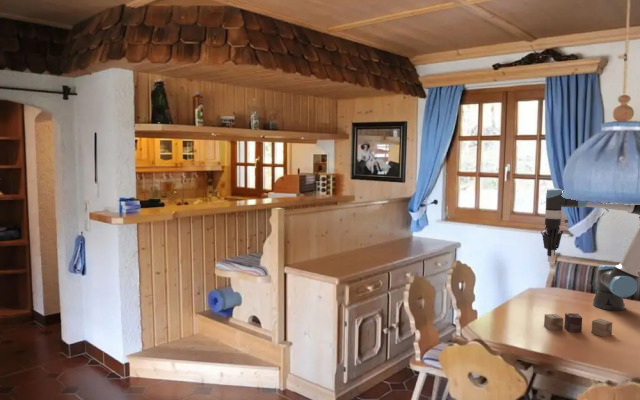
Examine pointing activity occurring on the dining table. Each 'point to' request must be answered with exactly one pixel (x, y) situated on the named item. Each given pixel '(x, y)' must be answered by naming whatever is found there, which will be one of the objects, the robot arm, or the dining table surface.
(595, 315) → the dining table surface
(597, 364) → the dining table surface
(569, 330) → the box
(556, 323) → the marked block two
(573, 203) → the robot arm
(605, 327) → the marked block one
